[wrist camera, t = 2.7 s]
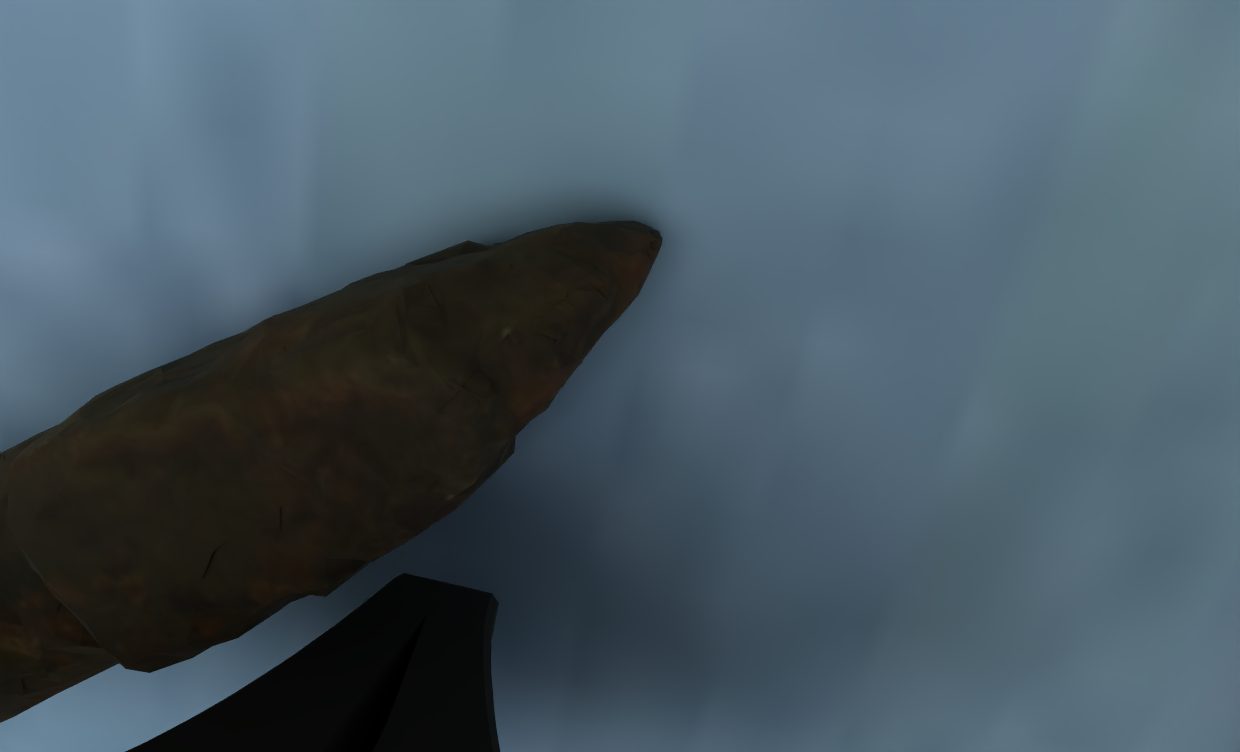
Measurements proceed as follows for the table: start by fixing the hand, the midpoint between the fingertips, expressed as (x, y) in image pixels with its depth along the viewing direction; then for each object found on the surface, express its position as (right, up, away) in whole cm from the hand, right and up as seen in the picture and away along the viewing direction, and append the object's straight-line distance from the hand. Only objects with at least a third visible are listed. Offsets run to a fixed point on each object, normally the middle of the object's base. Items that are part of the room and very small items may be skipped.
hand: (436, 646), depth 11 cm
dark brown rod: (-6, +2, +1) cm, 6 cm away
